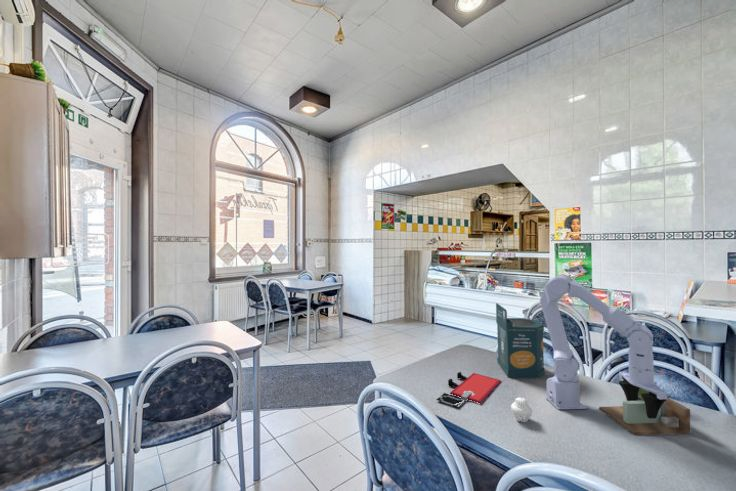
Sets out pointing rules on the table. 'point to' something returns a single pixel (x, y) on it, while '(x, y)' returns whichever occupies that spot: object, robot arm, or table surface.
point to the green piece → (640, 412)
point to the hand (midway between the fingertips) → (641, 411)
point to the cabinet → (671, 424)
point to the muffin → (521, 409)
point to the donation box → (519, 345)
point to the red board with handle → (470, 389)
